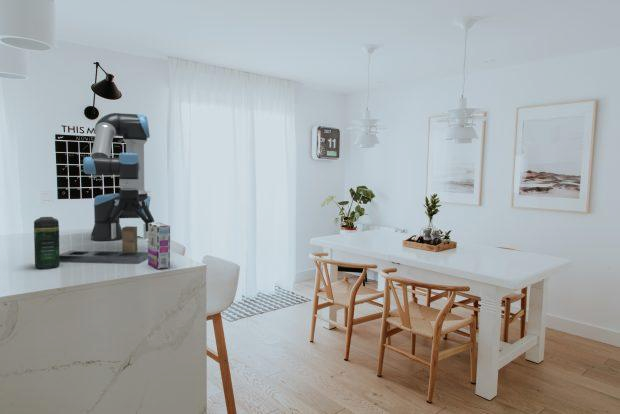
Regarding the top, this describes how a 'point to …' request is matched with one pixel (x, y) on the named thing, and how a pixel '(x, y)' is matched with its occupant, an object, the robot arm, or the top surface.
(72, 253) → the grey metal hole board
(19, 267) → the top surface
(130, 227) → the walnut peg
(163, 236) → the candy bar box
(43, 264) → the coffee jar
